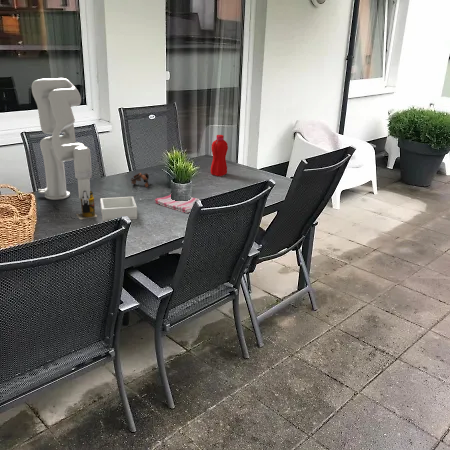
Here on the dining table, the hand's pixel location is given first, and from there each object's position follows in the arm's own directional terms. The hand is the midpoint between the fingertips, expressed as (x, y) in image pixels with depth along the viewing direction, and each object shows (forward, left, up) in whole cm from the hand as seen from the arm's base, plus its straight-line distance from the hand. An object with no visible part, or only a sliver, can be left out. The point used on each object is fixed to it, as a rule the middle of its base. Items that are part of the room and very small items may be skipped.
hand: (86, 209), depth 225 cm
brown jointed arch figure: (+32, +42, -4) cm, 53 cm away
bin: (+15, -1, -3) cm, 15 cm away
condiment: (0, 0, -4) cm, 4 cm away
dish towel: (+48, +7, -4) cm, 49 cm away
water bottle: (+81, +54, -4) cm, 97 cm away
